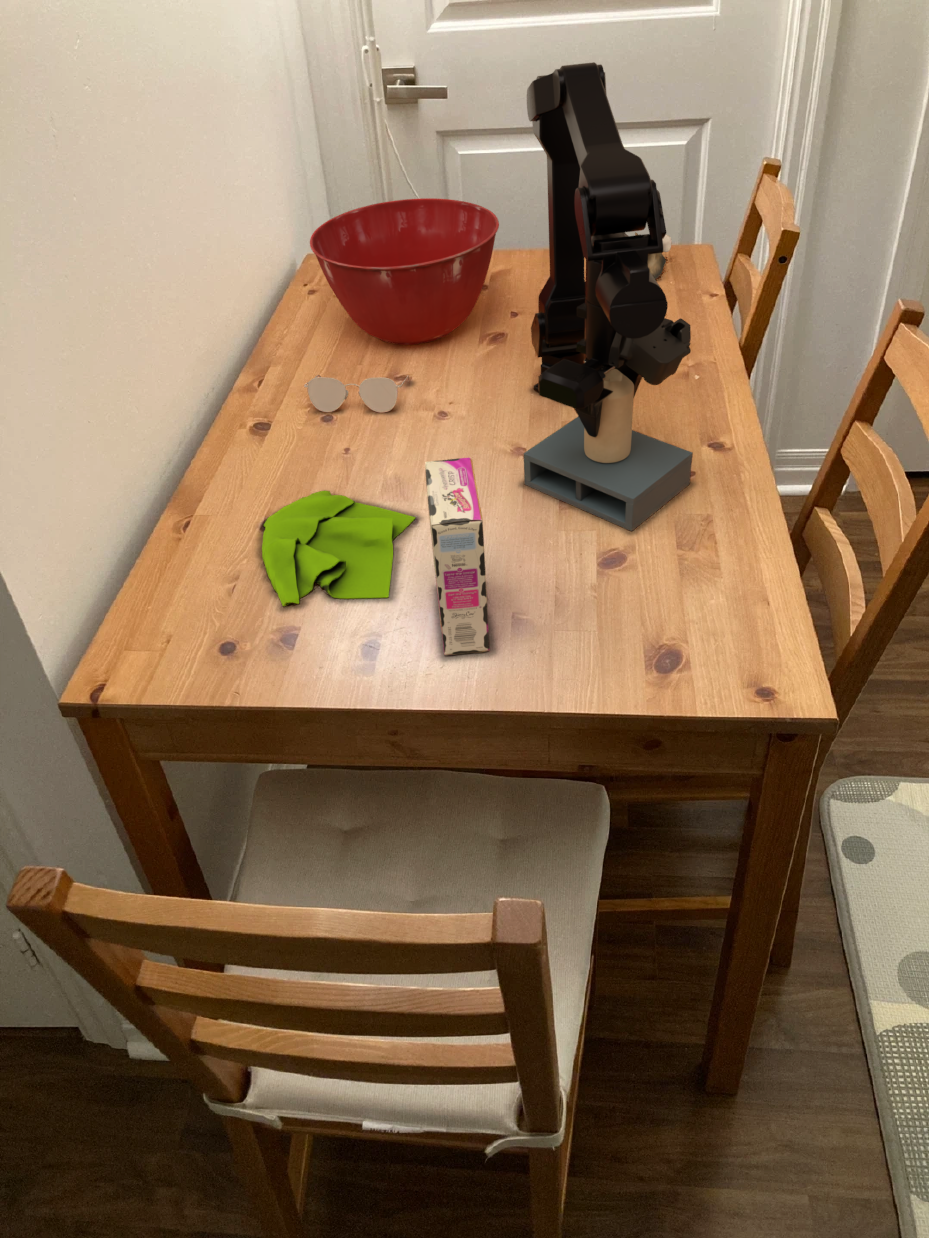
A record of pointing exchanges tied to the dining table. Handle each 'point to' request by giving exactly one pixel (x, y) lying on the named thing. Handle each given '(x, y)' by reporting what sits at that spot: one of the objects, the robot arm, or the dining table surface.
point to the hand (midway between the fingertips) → (607, 425)
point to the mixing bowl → (407, 265)
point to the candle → (613, 422)
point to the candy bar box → (458, 555)
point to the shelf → (608, 475)
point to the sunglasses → (333, 392)
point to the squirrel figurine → (658, 258)
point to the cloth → (331, 547)
